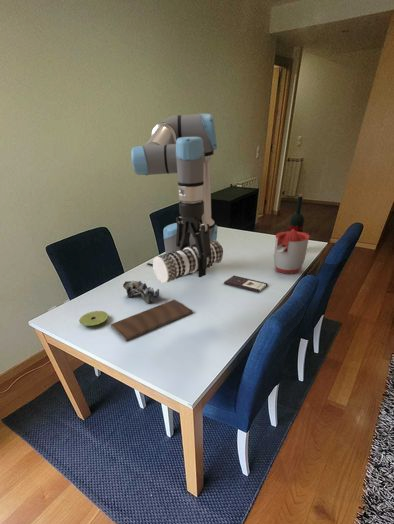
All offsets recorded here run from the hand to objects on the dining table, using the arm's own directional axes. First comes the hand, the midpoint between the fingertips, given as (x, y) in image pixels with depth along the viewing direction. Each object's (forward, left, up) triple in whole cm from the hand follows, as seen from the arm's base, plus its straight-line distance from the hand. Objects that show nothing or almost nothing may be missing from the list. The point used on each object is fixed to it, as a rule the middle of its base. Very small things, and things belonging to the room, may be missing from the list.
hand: (193, 271), depth 102 cm
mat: (-27, -31, -21) cm, 46 cm away
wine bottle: (-23, +88, -21) cm, 93 cm away
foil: (-32, -6, -21) cm, 39 cm away
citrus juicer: (-8, +64, -21) cm, 68 cm away
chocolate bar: (-10, +37, -20) cm, 44 cm away
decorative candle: (+1, -14, +5) cm, 14 cm away
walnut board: (-13, -12, -20) cm, 27 cm away
